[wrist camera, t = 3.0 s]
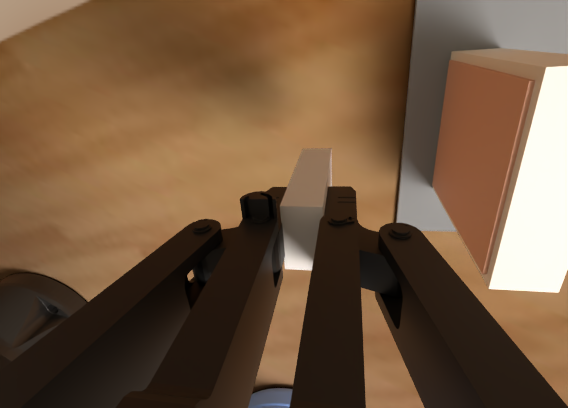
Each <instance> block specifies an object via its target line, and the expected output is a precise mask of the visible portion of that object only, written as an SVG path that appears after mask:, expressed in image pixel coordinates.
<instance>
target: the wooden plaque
mask: <svg viewBox="0 0 568 408" xmlns="http://www.w3.org/2000/svg"><path fill="white" fill-rule="evenodd" d="M432 186H433V190H434V192H435V193H436V195H437V197H438V199H439V201H440V202H441V204H442V206H443V208H444V210H445V211H446V213H447V215H448V217H449V219H450V220H451V222H452V224H453V226H454V227H455V229H456V231H457V233H458V235H459V236H460V238H461V240H462V242H463V244H464V245H465V247H466V249H467V251H468V253H469V254H470V256H471V258H472V260H473V262H474V263H475V265H476V267H477V269H478V271H479V272H480V274H481V276H482V278H483V280H484V281H485V283H486V285H487V287H488V289H501V290H520V291H539V292H558V293H559V290H560V288H561V285H562V283H563V280H564V277H565V275H566V272H567V270H568V54H560V53H549V52H538V51H528V50H517V49H506V48H494V49H479V50H464V51H452V52H451V59H450V60H449V66H448V73H447V80H446V88H445V95H444V102H443V109H442V117H441V124H440V131H439V138H438V146H437V153H436V160H435V167H434V175H433V182H432Z"/></svg>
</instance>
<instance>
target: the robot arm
mask: <svg viewBox="0 0 568 408" xmlns="http://www.w3.org/2000/svg"><path fill="white" fill-rule="evenodd" d="M240 204H241V211H242V217H243V219H242V221H241V223H240V225H239V226H238V227H235V228H230V229H223V230H221V225H220V223H219V222H218V221H216V220H211V219H202V220H198V221H196V222H193V223H191V224H189V225H188V226H186V227H185V228H184V229H183V230H181V231H180V232H179V233H177V234H176V235H175V236H173V237H172V238H171V239H170V240H168V241H167V242H166V243H164V244H163V245H162V246H160V247H159V248H158V249H157V250H155V251H154V252H153V253H151V254H150V255H149V256H148V257H146V258H145V259H144V260H142V261H141V262H140V263H138V264H137V265H136V266H135V267H133V268H132V269H131V270H129V271H128V272H127V273H126V274H124V275H123V276H122V277H120V278H119V279H118V280H116V281H115V282H114V283H113V284H111V285H110V286H109V287H107V288H106V289H105V290H103V291H102V292H101V293H100V294H98V295H97V296H96V297H94V298H93V299H92V300H91V301H89V302H88V303H87V302H86V301H85V300H84V299H83V298H81V297H80V296H79V295H78V294H76V293H75V292H74V291H72V290H71V289H69V288H68V287H66V286H64V285H63V284H61V283H59V282H57V281H55V280H52V279H50V278H47V277H44V276H41V275H36V274H30V273H17V274H12V275H9V276H7V277H5V278H4V279H2V280H1V281H0V408H248V406H249V403H250V399H251V395H252V391H253V387H254V384H255V380H256V376H257V372H258V369H259V365H260V361H261V357H262V354H263V350H264V346H265V342H266V339H267V335H268V331H269V327H270V324H271V320H272V316H273V312H274V309H275V305H276V301H277V297H278V294H279V290H280V286H281V282H282V279H283V271H282V264H283V261H284V262H285V269H296V270H312V273H311V279H310V285H309V291H308V297H307V303H306V310H305V316H304V322H303V328H302V334H301V341H300V347H299V353H298V359H297V365H296V372H295V378H294V384H293V390H292V396H291V402H290V407H289V408H366V404H365V379H364V355H363V331H362V306H361V287H362V288H365V289H369V290H372V291H375V297H376V300H377V302H378V304H379V306H380V309H381V311H382V313H383V315H384V318H385V320H386V322H387V324H388V327H389V329H390V331H391V333H392V336H393V338H394V340H395V342H396V344H397V347H398V349H399V351H400V353H401V356H402V358H403V360H404V362H405V365H406V367H407V369H408V371H409V374H410V376H411V378H412V380H413V382H414V385H415V387H416V389H417V391H418V394H419V396H420V398H421V400H422V403H423V405H424V407H425V408H568V406H567V405H566V404H565V403H564V402H563V400H562V399H561V398H560V397H559V396H558V394H557V393H556V392H555V391H554V390H553V388H552V387H551V386H550V385H549V384H548V382H547V381H546V380H545V379H544V378H543V376H542V375H541V374H540V373H539V372H538V371H537V369H536V368H535V367H534V366H533V365H532V363H531V362H530V361H529V360H528V359H527V357H526V356H525V355H524V354H523V353H522V351H521V350H520V349H519V348H518V347H517V345H516V344H515V343H514V342H513V341H512V340H511V338H510V337H509V336H508V335H507V334H506V332H505V331H504V330H503V329H502V328H501V326H500V325H499V324H498V323H497V322H496V320H495V319H494V318H493V317H492V316H491V314H490V313H489V312H488V311H487V310H486V308H485V307H484V306H483V305H482V304H481V303H480V301H479V300H478V299H477V298H476V297H475V295H474V294H473V293H472V292H471V291H470V289H469V288H468V287H467V286H466V285H465V283H464V282H463V281H462V280H461V279H460V277H459V276H458V275H457V274H456V273H455V272H454V270H453V269H452V268H451V267H450V266H449V264H448V263H447V262H446V261H445V260H444V258H443V257H442V256H441V255H440V254H439V252H438V251H437V250H436V249H435V248H434V246H433V245H432V244H431V243H430V242H429V241H428V239H427V238H426V237H425V236H424V235H423V233H422V232H421V231H420V230H419V229H417V228H416V227H414V226H412V225H409V224H406V223H390V224H386V225H384V226H382V227H381V228H380V230H379V232H376V231H372V230H368V229H366V228H364V227H362V226H361V225H360V224H359V223H358V220H357V209H356V191H355V190H354V189H353V188H352V187H333V186H332V148H321V149H302V152H301V154H300V157H299V159H298V162H297V164H296V167H295V169H294V172H293V174H292V177H291V179H290V182H289V184H288V187H272V188H270V189H269V190H268V191H266V192H263V191H260V192H252V193H248V194H246V195H244V196H242V197H241V198H240ZM191 270H193V274H194V277H193V278H192V279H191V280H190V281H189V280H188V278H187V275H188V273H189V272H190V271H191Z"/></svg>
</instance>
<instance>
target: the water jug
mask: <svg viewBox="0 0 568 408" xmlns="http://www.w3.org/2000/svg"><path fill="white" fill-rule="evenodd" d="M292 390H293V389H288V388H271V389H265V390H261V391H258V392H255V393H253V394H252V395H251V399H250V403H249V406H248V408H289V407H290V402H291V396H292Z"/></svg>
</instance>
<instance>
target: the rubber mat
mask: <svg viewBox="0 0 568 408" xmlns="http://www.w3.org/2000/svg"><path fill="white" fill-rule="evenodd" d="M494 48H506V49H517V50H528V51H538V52H549V53H560V54H568V0H416V3H415V15H414V26H413V37H412V48H411V59H410V70H409V81H408V92H407V103H406V114H405V125H404V137H403V148H402V159H401V170H400V181H399V192H398V203H397V214H396V223H406V224H409V225H412V226H414V227H416V228H417V229H419V230H420V231H456V229H455V227H454V226H453V224H452V222H451V220H450V219H449V217H448V215H447V213H446V211H445V210H444V208H443V206H442V204H441V202H440V201H439V199H438V197H437V195H436V193H435V192H434V190H433V186H432V182H433V175H434V167H435V160H436V153H437V146H438V138H439V131H440V124H441V117H442V109H443V102H444V95H445V88H446V80H447V73H448V66H449V60H450V59H451V52H452V51H464V50H479V49H494ZM456 232H457V231H456Z"/></svg>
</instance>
